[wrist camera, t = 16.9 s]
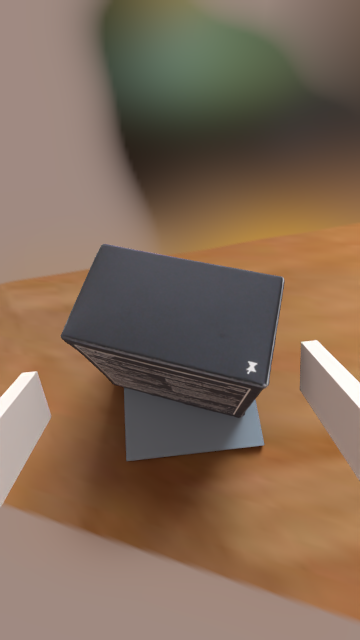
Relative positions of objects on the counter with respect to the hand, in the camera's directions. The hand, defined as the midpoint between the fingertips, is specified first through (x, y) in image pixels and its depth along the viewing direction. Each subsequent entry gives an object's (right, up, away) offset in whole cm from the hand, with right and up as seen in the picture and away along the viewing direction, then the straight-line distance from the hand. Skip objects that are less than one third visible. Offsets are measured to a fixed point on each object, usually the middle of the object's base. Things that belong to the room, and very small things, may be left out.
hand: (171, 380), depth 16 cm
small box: (+1, 0, +10) cm, 10 cm away
